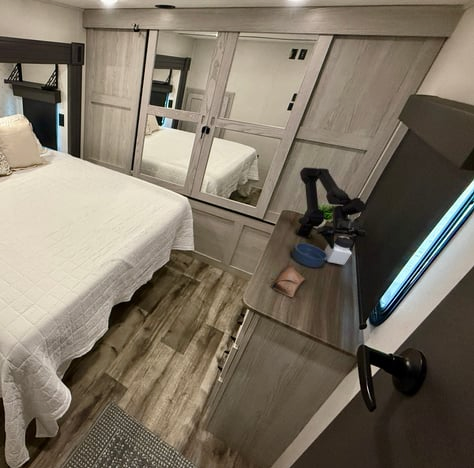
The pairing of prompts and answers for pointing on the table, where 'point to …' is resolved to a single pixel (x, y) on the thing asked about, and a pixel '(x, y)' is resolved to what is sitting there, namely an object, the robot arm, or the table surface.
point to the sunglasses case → (288, 282)
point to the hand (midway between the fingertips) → (341, 249)
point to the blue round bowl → (309, 255)
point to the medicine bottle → (339, 251)
